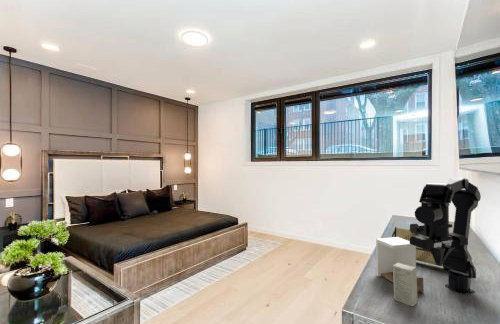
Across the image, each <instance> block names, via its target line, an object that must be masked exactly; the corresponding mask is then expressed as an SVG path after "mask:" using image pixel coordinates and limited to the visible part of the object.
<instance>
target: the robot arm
mask: <svg viewBox="0 0 500 324" xmlns="http://www.w3.org/2000/svg"><path fill="white" fill-rule="evenodd" d="M480 201H481V192H480V190H479V187H478V186H476V185H474V184H473V183H471V182H470V181H469V179H468V178H465V177H450V178H449V179H447V180H445V181H442V182H440V183H438V182H427V183H426V184H425V185H423V189H422V192H421V195H420V197H419V201H418V203H420V206H418V207H417V208H416V209H415V211H414V217H415V219H416V220H417V221H418V222H419V223H421V224H422V225H419V224H418V223H410V224H409V229H410V231H411V233H414V234H415V235H418V236H411V237H410V244H411V245H414V246H417V247H420V248H422V249H430V251H431V253H432V255H433V258H434V260H435V263H436V265H435V266H437V267H442V266H441V265H442V264H443V267H442V268H443V270H444V271H443V272H447V273H448V279H447V280H448V281H447V282H448V284H444V287H445V288H448V289H449V290H452V291H454V292H456V293H458V294H460V295H467V294H473V293H476V291H475V290H473V289H471V280H472V279H477V269H476V267H475V264H474V263H473V261H472V259H473V258H472V255H471V254H470V253H469V250H468V245H469V234H470V227H471V219H472V212H473V211H474V210H475V209H476V208H477V207H478V206H479V202H480ZM450 204H453V206H454V207H455V213H454V223H453V224H452V223H450V217H449V216H450V215H449V214H450V210H449V209H450ZM450 228H453V230H452V232H450ZM420 234H421V235H423V236H426V237H429V238H426V237H423V236H420ZM450 242H452V244H450Z"/></svg>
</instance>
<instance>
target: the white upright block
mask: <svg viewBox="0 0 500 324" xmlns="http://www.w3.org/2000/svg"><path fill="white" fill-rule="evenodd" d="M375 244H376V247H375V248H376V250H375V251H376V255H375V256H376V276H377V277H383V276H382V273H390V272H393V265H394V264H396V263H397V262H398V263H402V264H406V265H409V266H413V267H416V268H417V264H416V263H417V260H416V246H414V245H411V244H410V241H408V240H405V239H402V238H399V237H394V236H393V237H392V236H391V237H380V238H375Z"/></svg>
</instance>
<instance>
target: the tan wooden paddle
mask: <svg viewBox="0 0 500 324" xmlns="http://www.w3.org/2000/svg"><path fill="white" fill-rule="evenodd" d="M381 277H383V278H385V279H386V280H387V281H390V282H391V283H393V272H390V273H382V276H381ZM419 292H424V277H423V276H421V275H418V276H417V293H419Z"/></svg>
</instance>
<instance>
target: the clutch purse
mask: <svg viewBox="0 0 500 324" xmlns="http://www.w3.org/2000/svg"><path fill="white" fill-rule="evenodd" d="M392 232H393V233H392V235H391V237H399V238H402V239H405V240H408V241H410V237H411V236H418V235H415V234H414V233H411V231H410V228H404V227H397V226H395V227H394V229H393V230H392ZM420 236H423V235H421V234H420ZM423 237H426V236H423ZM426 238H429V237H426ZM450 244H452V242H450ZM417 261H418V262H419V263H418V262H417ZM420 262H422V263H427V264H430V265H435V266H437V265H436V263H435V260H434V258H433V255H432V253H431V251H430V249H422V248H420V247H417V246H416V265H418V266H421V267H425V268H429V269H432V270H437V271H440V272H441V271H442V272H445V271H444V269H442V268H443V264H442V265H441V266H440V267H442V268H437V267H432V266H429V265H425V264H421V263H420Z"/></svg>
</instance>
